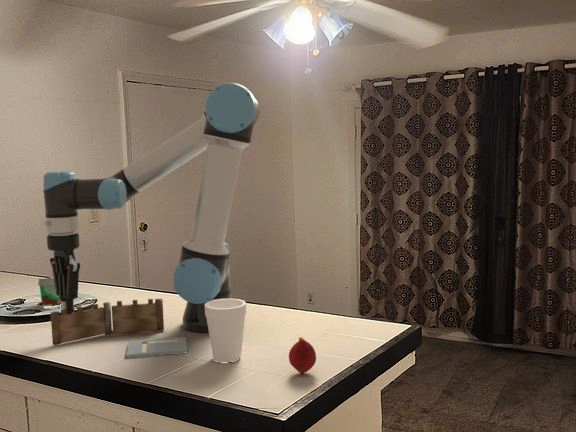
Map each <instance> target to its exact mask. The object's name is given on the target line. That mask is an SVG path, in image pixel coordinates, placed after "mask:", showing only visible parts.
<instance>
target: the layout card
mask: <svg viewBox="0 0 576 432" xmlns="http://www.w3.org/2000/svg"><path fill="white" fill-rule="evenodd" d="M127 344H128V345H127V350H126V354H125V357H126V359H132V358H131V357H135V358H143V357H144V358H145V356H147V357H154V356H155V355H159V356H166V355H165V354H171V355H176V354H175V353H183V354H186V353H185V352H187V353H188V349H187V337H186V336H181V337H179V336H178V337H168V338H156V339H155V338H154V339H143V340H131V341H129V342H128V343H127ZM155 357H156V356H155Z"/></svg>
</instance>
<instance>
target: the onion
mask: <svg viewBox="0 0 576 432" xmlns="http://www.w3.org/2000/svg"><path fill="white" fill-rule="evenodd" d="M316 354H317V353H316V351H315V349H314V346H313V345H312V344H311V343H309V342H308V341H306V339H305V338H304V337H302V336H300V337H298V341H297V342H295V343H294V344H293V345H292V346H291V348H290V350H289V353H288V359H289V360H288V361H289V364H290V365H291V367H293V368H294V369H295V371H297V372H298V373H299V372H300V373H299V374H301V373H304V372H305V373H308V371H310V370H312V368H313V367H314V366H315V363H316V361H317V355H316ZM305 373H304V374H305Z"/></svg>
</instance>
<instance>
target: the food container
mask: <svg viewBox="0 0 576 432" xmlns="http://www.w3.org/2000/svg"><path fill="white" fill-rule="evenodd" d="M37 284H38V285H37V286H39V290H40V298H41V304H42V305H41V307H42V308H43V307H44V306H54V305H60V304H61V299H60V298H59V296H57V294H56V289H55V282H54V276H53V275H52V276H51V275H50V276H48V277H47V278H39V279H38V283H37Z"/></svg>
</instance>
